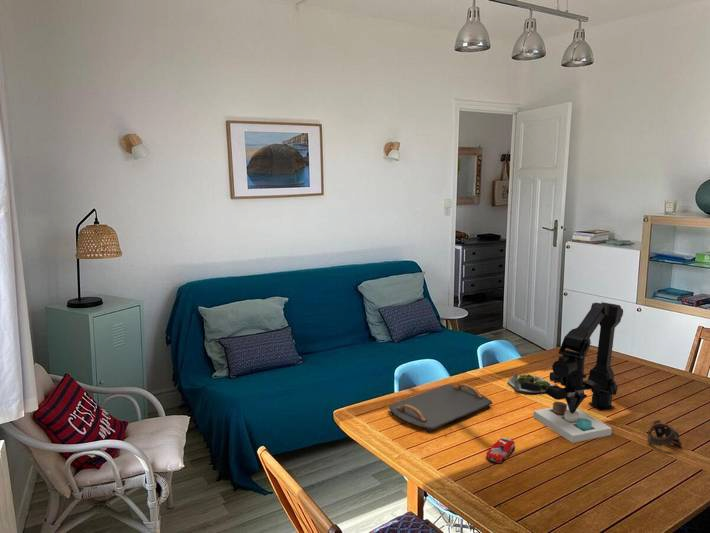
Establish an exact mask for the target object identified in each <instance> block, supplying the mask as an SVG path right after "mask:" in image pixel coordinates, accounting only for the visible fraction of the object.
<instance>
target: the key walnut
mask: <svg viewBox="0 0 710 533" xmlns="http://www.w3.org/2000/svg"><path fill="white" fill-rule="evenodd" d="M552 407H553V413H554V414H556V415H558V416H562V415H564V414H565V411H566V410H567V403H565V402H563V401H554V402H552Z"/></svg>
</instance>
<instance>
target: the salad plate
mask: <svg viewBox="0 0 710 533" xmlns="http://www.w3.org/2000/svg"><path fill="white" fill-rule="evenodd" d="M507 383H508V384H509V386H511V387H513V389H515V391H517V392H519V393H521V394H524V395H529V394H530V395H529V396H535V395H536V396H537V394H539V395H547V394H546V388H547V387H548V386H554V385H555V384H552V383H550V382H549V381H548V380H546V379H544V378H542V377H540V376H536V375H531V374H523V373H521V374H520V375H518V374H517V373H513V374H512V377H511V378H508V379H507Z"/></svg>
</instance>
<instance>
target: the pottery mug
mask: <svg viewBox="0 0 710 533" xmlns="http://www.w3.org/2000/svg"><path fill="white" fill-rule="evenodd" d="M653 430H654V432H655V435H656V436H654V435H653V434H652V431H653ZM664 435H665V437H663V436H664ZM674 443H676V444H677V445H678V446H679V448H680V447H681V448H682V441H681V438H680V433H679V432H678V430H677V429H675V428H673V427H672V425H670V424H668V423H665V422H662V421H660V420H659V419H657V420H654V421H653V424H652V425H650V426H649V427H648V432H647V444H648V445H650V446H651V445H654V446H657V447H666V446H670V445H671V446H674Z"/></svg>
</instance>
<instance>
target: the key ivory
mask: <svg viewBox="0 0 710 533" xmlns="http://www.w3.org/2000/svg"><path fill="white" fill-rule="evenodd" d="M577 419H579V413H578V412H576V411H575V412H574V413H570V411H569V410H566V411H565V414H564V420H566V421H567V422H569V423H576V422H577Z"/></svg>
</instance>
